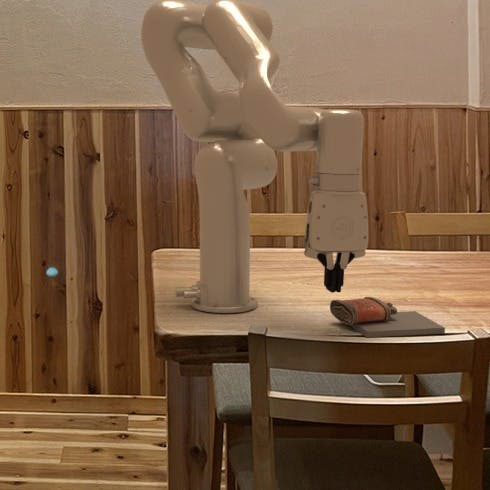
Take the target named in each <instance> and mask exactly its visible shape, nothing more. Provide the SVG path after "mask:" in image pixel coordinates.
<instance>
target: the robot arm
mask: <svg viewBox="0 0 490 490" xmlns="http://www.w3.org/2000/svg"><path fill="white" fill-rule="evenodd" d="M273 28H274V26H273V21H272V18H271V16H270V14H269V12H267V10H266V9H265V8H264V7H262V6H260V5H259V4H255V3H252V2H246V1H242V0H215V1H213V2H212V3H209V5H208V4H203V3H199V2H198V3H197V2H191V1H188V0H187V1H185V0H159V1H157V2H155V3H153V4H152V5H151V6H149V8H148V9H147V11H146V12H145V14H144V17H143V19H142V25H141V31H140V34H141V35H140V37H141V45H142V50H143V53H144V56H145V57H146V61H147V62H148V64H149V66H150V67H151V69H152V71H153V73H154V74H155V76H156V78H157V79H158V81H159V84H161V87H162V89H163V91H164V93H165V95H166V98H167V100H168V102H169V104H170V106H171V108H172V110H173V113H174V114H175V116H176V118H177V121H178V122H179V125H180V127H181V129H182V131H183V133H184V134H185V135H186V136H187V138H189V139H190V140H192V141H195V142H200V143H207V144H205V145H204V146H203V147H201V148H200V149H199V151H198V152H197V154H196V156H195V159H194V167H193V169H194V177H195V180H196V181H195V182H196V187H197V192H198V203H199V280H196V284H191V286H175V289H174V293H175V297H176V298H179V297H180V298H182V297H183V299H191V298H192V299H191V307H192V308H193V309H195V310H197V311H200V312H207V313H214V314H235V313H237V314H238V313H243V312H249V311H251V310H252V311H253V310H255V309H256V308H257V307H258V300H257V298H255V297H253V296H251V295H250V282H251V281H250V277H251V276H250V274H251V273H250V267H251V264H250V263H251V262H250V261H251V260H250V259H251V253H250V251H251V215H250V212H251V211H250V208H249V204H248V201H247V199H246V196H245V194H244V191H245V190H246V191H247V190H252V189H253V190H255V189H256V190H257V189H261V188H264V187H267V186H268V185H270V184H271V182H273V180H274V178H275V177H276V174H277V170H278V160H277V156H276V152H275V151H277V152H285V153H286V152H314V151H316V166H315V167H316V170H315V172H314V175H313V176H309V177H307V184H308V185H309V186H312V187H313V186H314V187H313V188H314V189H315V190H312V191H311V194H310V198H309V201H308V206H307V213H306V218H305V219H306V220H305V228H304V244H305V247H304V251H303V254H304V256H305V257H307V258H309V259H313V260H318V262H320V264H321V266H323V267H324V270H323V271H324V272H323V273H324V276H323V285H324V287H325V289H326V291H328V292H329V293H341V292H342V287H343V286H344V283H345V282H344V281H345V280H344V279H345V270H346V269H347V267H348V266H349V264H350V263H351V262H352V261H353V260H354V259H359V258H362V257H364V256H366V249H368V246H369V233H370V232H369V215H368V213H369V212H368V202H367V196H366V192H362V191H361V189H362V188H361V187H362V184H361V183H362V165H363V148H364V129H365V127H364V124H365V121H364V114H363V113H362V112H361V111H359V110H356V109H342V108H341V109H339V108H332V109H331V108H329V109H325V108H320V107H311V106H308V107H307V106H294V105H293V106H287V105H286V104H285V103H284V102H283V100H282V99H281V98H280V95H278V93H277V92H276V90H275V89H274V88H273V86H272V84H271V83H270V79H271V78H272V77H273V76H274V75H275V73H276V72H277V71H278V68H279V67H280V59H281V58H280V56H279V53H278V52H277V50H276V49H275V48H274V47H273V45H272V44H271V42H270V41H271V38H272V36H273V31H274V30H273ZM186 48H189V49H198V50H199V49H201V50H208V51H209V50H210V51H211V50H212V51H216V53H218V55H219V56H220V57H221V59H222V60H223V61H224V63H225V64H226V66H227V67H228V69H229V70H230V71H231V73H232V74H233V75H234V77H235V79H236V80H237V81H238V83H239V85H238V94H236V93H232V92H220V91H218V90H215V88H214V87H213V86H212V85H211V82H210V81H209V79H208V78H207V75H206V72H205V70H204V69H203V67H202V65H201V64H200V63H199V62H198V61H197V59H196V58H195V57H193V56H192V55H191V53H189V52H188V50H187V49H186ZM334 253H336V255H335V261H334Z"/></svg>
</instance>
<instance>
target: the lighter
mask: <svg viewBox="0 0 490 490" xmlns="http://www.w3.org/2000/svg"><path fill="white" fill-rule="evenodd" d="M393 305H394V304H393V303H392V302H386V301H384V300H381V299H379V298H376V297H372V296H365V297H364V298H363V297H362V298H355V299H354V298H353V299H344V300H340V299H333V300H331V301H330V303H329V309H330V313H331V314H332V316H333V317H334V318H335V319H336V320H338V321H339V322H341V323H344V324H345V325H349V324H350V325H349V326H351V325H352V324H356V323H360V322H369V321H378V320H381V321H388V320H389V319H390V317H391V315H395V314H397V312H398V309H397V307H395V306H393Z"/></svg>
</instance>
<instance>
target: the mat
mask: <svg viewBox="0 0 490 490" xmlns="http://www.w3.org/2000/svg"><path fill="white" fill-rule="evenodd" d="M348 325H349V326H351V328H353V329H355V330H356V331H358V332H359V333H360V334H361V335H363V336H364V337H366V338H381V337H382V338H384V337H402V336H420V335H421V336H423V335H439V334H440V335H441V334H446V331H445V330H446V327H444V326H443V325H442V324H439V323H437V322H435V321H434V320H432V319H430V318H428V316H427V317H426V316H425V315H424V314H421V313H419V312H418V311H415V310H409V311H397V314H395V315H391V317H390V319H389V320H388V321H381V320H378V321H369V322H360V323H356V324H352V325H350V324H348Z"/></svg>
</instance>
